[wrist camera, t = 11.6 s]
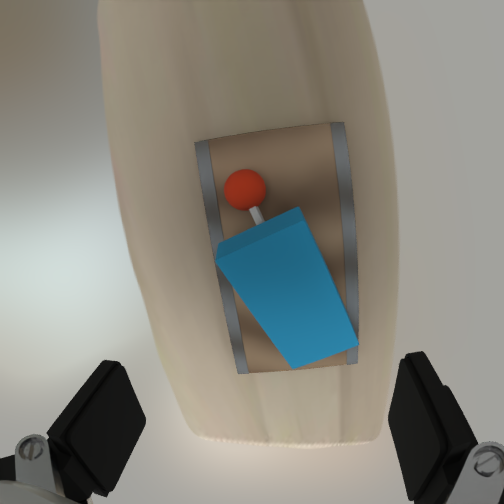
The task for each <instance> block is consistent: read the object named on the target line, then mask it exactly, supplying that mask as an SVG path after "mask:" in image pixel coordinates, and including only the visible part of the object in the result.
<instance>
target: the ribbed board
mask: <svg viewBox="0 0 504 504" xmlns="http://www.w3.org/2000/svg"><path fill="white" fill-rule="evenodd" d="M194 143H195V149H196V156H197V162H198V168H199V175H200V181H201V187H202V193H203V199H204V205H205V210H206V216H207V222H208V228H209V233H210V239H211V244H212V250H213V255H214V260H215V259H216V253H217V247H218V243H220V242H223V241H225V240H227V239H229V238H231V237H233V236H235V235H237V234H240V233H242V232H244V231H246V230H248V229H250V228H252V227H254V226H257V225H256V223H255V221H254V219H253V217H252V215H251V212H250V210H248V211H241V210H238V209H236V208H234V207H233V206H231V205H230V204H229V203H228V201H227V200H226V198H225V194H224V185H225V182H226V180H227V178H228V177H229V176H230V175H231V174H232V173H234V172H235V171H238V170H242V169H249V170H253V171H255V172H257V173H258V174H259V175H260V176H261V177H262V179H263V180H264V183H265V186H266V194H265V198H264V200H263V201H262V202H261V204H260V205H259V206H258V208H259V210H260V212H261V214H262V216H263V219H264V221H267V220H269V219H272V218H274V217H276V216H278V215H280V214H282V213H285V212H287V211H289V210H291V209H293V208H295V207H300V209H301V211H302V214H303V216H304V218H305V220H306V222H307V224H308V226H309V228H310V230H311V232H312V235H313V237H314V239H315V241H316V243H317V245H318V247H319V250H320V252H321V254H322V256H323V258H324V261H325V263H326V265H327V267H328V269H329V272H330V274H331V276H332V278H333V281H334V283H335V285H336V287H337V290H338V292H339V294H340V297H341V299H342V301H343V304H344V306H345V308H346V311H347V313H348V316H349V318H350V320H351V323H352V325H353V328H354V331H355V334H356V337H357V340H358V331H359V299H358V262H357V242H356V226H355V213H354V201H353V190H352V180H351V171H350V163H349V155H348V147H347V140H346V133H345V126H344V122H338V123H327V124H316V125H306V126H296V127H288V128H280V129H272V130H265V131H258V132H251V133H245V134H238V135H232V136H227V137H221V138H215V139H210V140H204V141H199V142H194ZM215 266H216V271H217V276H218V281H219V286H220V291H221V296H222V301H223V306H224V311H225V316H226V321H227V326H228V331H229V335H230V340H231V345H232V349H233V354H234V358H235V363H236V368H237V372H238V374H249V373H258V372H275V371H288V370H300V369H311V368H320V367H329V366H337V365H345V364H347V365H349V364H356V363H358V345H357V346H355V347H352V348H350V349H347V350H345V351H342V352H340V353H337V354H334V355H332V356H329V357H326V358H324V359H321V360H318V361H315V362H313V363H310V364H307V365H304V366H301V367H298V368H295V369H292V368H291V366H290V365H289V364H288V362H287V361H286V360H285V358H284V357H283V356H282V354H281V353H280V352H279V350H278V349H277V348H276V346H275V345H274V343H273V342H272V341H271V339H270V338H269V337H268V335H267V334H266V332H265V331H264V330H263V328H262V327H261V326H260V324H259V323H258V321H257V320H256V319H255V317H254V316H253V314H252V313H251V312H250V310H249V309H248V307H247V306H246V305H245V303H244V302H243V300H242V299H241V298H240V296H239V295H238V293H237V292H236V291H235V289H234V288H233V286H232V285H231V283H230V282H229V281H228V279H227V278H226V276H225V275H224V273H223V272H222V271H221V269H220V268H219V266H218V265H217V263H216V262H215Z"/></svg>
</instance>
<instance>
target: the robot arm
mask: <svg viewBox="0 0 504 504" xmlns="http://www.w3.org/2000/svg"><path fill="white" fill-rule="evenodd" d="M388 422H389V427H390V430H391V434H392V437H393V441H394V444H395V448H396V451H397V456H398V459H399V463H400V467H401V471H402V475H403V479H404V483H405V487H406V492H407V496H408V499H409V500H410V501H413V500H414V504H504V446H503V445H502V444H499V443H497V442H490V441H489V442H483V443H481V444H478V442H477V440H476V438H475V436H474V434H473V432H472V430H471V428H470V426H469V424H468V422H467V420H466V418H465V416H464V414H463V412H462V410H461V408H460V406H459V404H458V403H457V401H456V399H455V397H454V395H453V393H452V392H451V390H450V388H449V387H448V386H446V385H444V386H443V384H442V383H441V381H440V379H439V377H438V375H437V373H436V372H435V370H434V368H433V367H432V365H431V363H430V361H429V360H428V358H427V356H426V354H425V353H424V352H423V351H421V352H414V353H408V354H406V356H405V358H404V359H401V360H400V364H399V369H398V375H397V379H396V384H395V389H394V393H393V397H392V402H391V406H390V411H389V415H388ZM145 424H146V417H145V415H144V413H143V410H142V408H141V406H140V404H139V401H138V399H137V397H136V394H135V392H134V390H133V387H132V385H131V382H130V380H129V377H128V375H127V372H126V370H125V368H124V367H123V366H122V365H121V364H120V362H118V361H110V360H104V361H102V362H101V363H100V365H99V366H98V367H97V368H96V370H95V371H94V372H93V373H92V375H91V376H90V377H89V378H88V380H87V381H86V382H85V383H84V385H83V386H82V387H81V388H80V390H79V391H78V392H77V394H76V395H75V396H74V397H73V399H72V400H71V401H70V402H69V404H68V405H67V406H66V408H65V409H64V410H63V412H62V413H61V414H60V415H59V417H58V418H57V419H56V421H55V422H54V423H53V425H52V426H51V427H50V429H49V430H48V431H47V434H48V436H49V438H48V439H47V440H46V439H45V438H44V437H43V436H41V435H36V434H33V435H29V436H26V437H24V438H23V439H21V440H20V441H19V443H18V444H17V446H16V449H15V455H11V456H8V457H4V458H0V504H93V502H92V499H91V494H92V492H94V493H95V494H98V495H101V496H104V497H107V496H108V493H109V492H111V491H113V490H114V488H115V486H116V484H117V482H118V480H119V478H120V476H121V474H122V472H123V470H124V467H125V465H126V463H127V461H128V459H129V457H130V455H131V453H132V451H133V449H134V447H135V445H136V443H137V441H138V439H139V437H140V435H141V433H142V431H143V429H144V427H145Z"/></svg>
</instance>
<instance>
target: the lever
mask: <svg viewBox="0 0 504 504" xmlns="http://www.w3.org/2000/svg"><path fill="white" fill-rule="evenodd" d="M224 194H225V198H226V200H227V201H228V203H229V204H230V205H231V206H233V207H234V208H236V209H238V210H241V211H248V210H250V212H251V215H252V217H253V219H254V221H255V223H256V225H257V226H254V227H252V228H250V229H248V230H246V231H244V232H242V233H240V234H237V235H235V236H233V237H231V238H229V239H227V240H225V241H223V242H220V243H218V247H217V253H216V259H215V262H216V263H217V265H218V266H219V268H220V269H221V271H222V272H223V273H224V275H225V276H226V278H227V279H228V281H229V282H230V283H231V285H232V286H233V288H234V289H235V291H236V292H237V293H238V295H239V296H240V298H241V299H242V300H243V302H244V303H245V305H246V306H247V307H248V309H249V310H250V312H251V313H252V314H253V316H254V317H255V319H256V320H257V321H258V323H259V324H260V326H261V327H262V328H263V330H264V331H265V332H266V334H267V335H268V337H269V338H270V339H271V341H272V342H273V343H274V345H275V346H276V348H277V349H278V350H279V352H280V353H281V354H282V356H283V357H284V358H285V360H286V361H287V362H288V364H289V365H290V366H291V368H292V369H295V368H298V367H301V366H304V365H307V364H310V363H313V362H315V361H318V360H321V359H324V358H326V357H329V356H332V355H334V354H337V353H340V352H342V351H345V350H347V349H350V348H352V347H355V346H357V345H359V343H358V340H357V337H356V334H355V331H354V328H353V325H352V323H351V320H350V318H349V316H348V313H347V311H346V308H345V306H344V304H343V301H342V299H341V297H340V294H339V292H338V290H337V287H336V285H335V283H334V281H333V278H332V276H331V274H330V272H329V269H328V267H327V265H326V263H325V261H324V258H323V256H322V254H321V252H320V250H319V247H318V245H317V243H316V241H315V239H314V237H313V235H312V232H311V230H310V228H309V226H308V224H307V222H306V220H305V218H304V216H303V214H302V211H301V209H300V207H295V208H293V209H291V210H289V211H287V212H285V213H282V214H280V215H278V216H276V217H274V218H272V219H269V220H267V221H264V219H263V216H262V214H261V212H260V210H259V208H258V206H259V205H260V204H261V202H262V201H263V200H264V198H265V194H266V186H265V183H264V180H263V179H262V177H261V176H260V175H259V174H258V173H257V172H255V171H253V170H249V169H242V170H238V171H235V172H234V173H232V174H231V175H230V176H229V177H228V178H227V180H226V182H225V185H224Z"/></svg>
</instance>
